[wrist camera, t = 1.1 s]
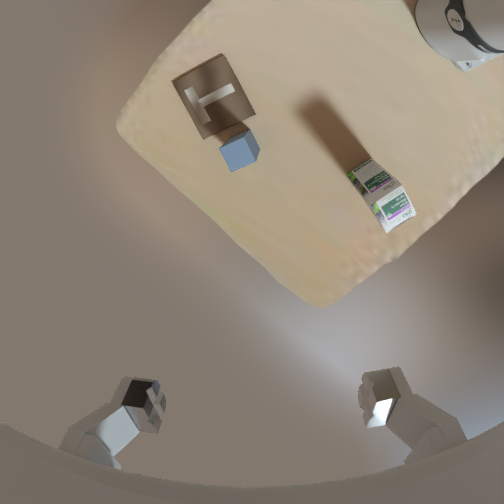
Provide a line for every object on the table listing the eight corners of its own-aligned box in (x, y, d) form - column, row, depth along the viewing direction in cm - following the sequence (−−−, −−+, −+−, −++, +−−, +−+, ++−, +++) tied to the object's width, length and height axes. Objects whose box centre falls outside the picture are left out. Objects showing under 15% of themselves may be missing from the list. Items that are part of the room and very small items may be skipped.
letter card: (224, 55, 39) (223, 55, 38) (255, 114, 44) (255, 114, 43) (173, 82, 42) (172, 82, 41) (204, 138, 47) (203, 139, 46)
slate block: (250, 129, 46) (243, 136, 38) (260, 149, 47) (255, 161, 40) (229, 138, 47) (218, 148, 39) (239, 158, 49) (231, 172, 41)
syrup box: (371, 156, 46) (401, 182, 33) (386, 182, 48) (418, 215, 35) (346, 173, 48) (368, 204, 36) (362, 198, 50) (386, 235, 38)
